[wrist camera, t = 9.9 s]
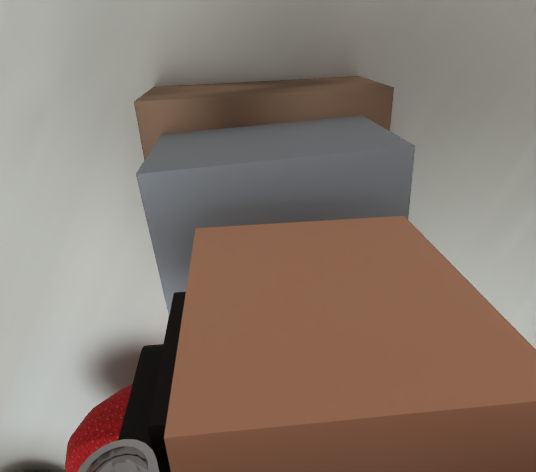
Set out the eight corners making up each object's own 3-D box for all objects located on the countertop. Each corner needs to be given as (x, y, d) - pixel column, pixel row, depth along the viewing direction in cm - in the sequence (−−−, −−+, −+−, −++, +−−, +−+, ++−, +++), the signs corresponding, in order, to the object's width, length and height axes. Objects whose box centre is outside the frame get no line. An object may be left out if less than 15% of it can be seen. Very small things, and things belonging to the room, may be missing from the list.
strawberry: (194, 419, 30) (181, 585, 21) (87, 401, 28) (23, 575, 19) (218, 360, 27) (215, 518, 18) (103, 337, 25) (39, 499, 17)
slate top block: (362, 115, 16) (414, 145, 12) (356, 282, 20) (395, 354, 15) (161, 134, 16) (136, 174, 11) (193, 301, 19) (184, 381, 15)
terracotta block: (404, 215, 11) (581, 397, 5) (381, 369, 13) (488, 597, 8) (195, 228, 10) (163, 438, 5) (213, 384, 13) (204, 635, 7)
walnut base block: (356, 75, 20) (393, 87, 16) (346, 250, 25) (373, 297, 20) (154, 86, 19) (133, 101, 15) (182, 263, 24) (173, 315, 20)
